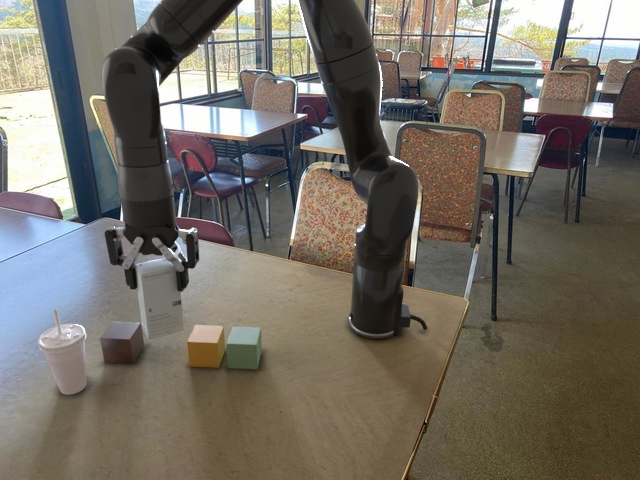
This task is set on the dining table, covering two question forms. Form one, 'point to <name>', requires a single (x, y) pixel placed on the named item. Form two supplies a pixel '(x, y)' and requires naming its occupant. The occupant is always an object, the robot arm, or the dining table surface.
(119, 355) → the block walnut
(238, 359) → the block sage
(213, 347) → the block ochre
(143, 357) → the dining table surface
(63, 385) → the smoothie
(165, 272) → the cosmetic box
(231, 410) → the dining table surface
